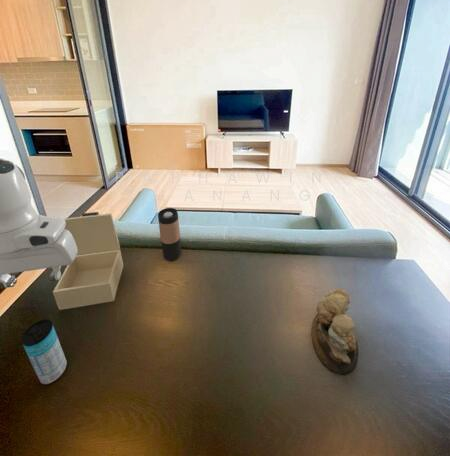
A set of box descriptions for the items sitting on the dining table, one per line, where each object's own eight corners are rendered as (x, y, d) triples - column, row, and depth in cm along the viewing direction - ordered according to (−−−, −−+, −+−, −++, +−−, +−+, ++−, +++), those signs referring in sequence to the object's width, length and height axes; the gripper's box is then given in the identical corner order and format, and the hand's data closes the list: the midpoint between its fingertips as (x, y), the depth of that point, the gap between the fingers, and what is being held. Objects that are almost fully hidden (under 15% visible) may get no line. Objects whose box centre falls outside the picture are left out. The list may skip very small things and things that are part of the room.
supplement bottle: (63, 353, 66) (49, 314, 61) (70, 371, 62) (55, 331, 57) (37, 372, 62) (19, 332, 57) (42, 392, 58) (23, 351, 53)
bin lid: (110, 214, 84) (114, 205, 89) (58, 220, 82) (64, 211, 86) (119, 249, 92) (122, 239, 96) (72, 255, 89) (76, 245, 93)
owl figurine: (366, 387, 58) (381, 339, 52) (314, 374, 61) (323, 327, 55) (349, 316, 75) (359, 273, 69) (309, 308, 77) (315, 266, 71)
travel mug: (159, 258, 98) (153, 216, 91) (169, 246, 105) (165, 206, 98) (175, 263, 95) (170, 220, 88) (185, 250, 102) (181, 209, 95)
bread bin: (113, 301, 81) (109, 283, 78) (59, 310, 78) (52, 292, 75) (123, 265, 95) (120, 249, 92) (77, 272, 92) (72, 255, 90)
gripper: (-55, 250, 47) (-28, 301, 52) (60, 235, 51) (76, 285, 56) (-30, 230, 53) (-8, 278, 58) (72, 218, 57) (85, 264, 61)
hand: (34, 281), depth 57 cm, fingers open, 8 cm apart
